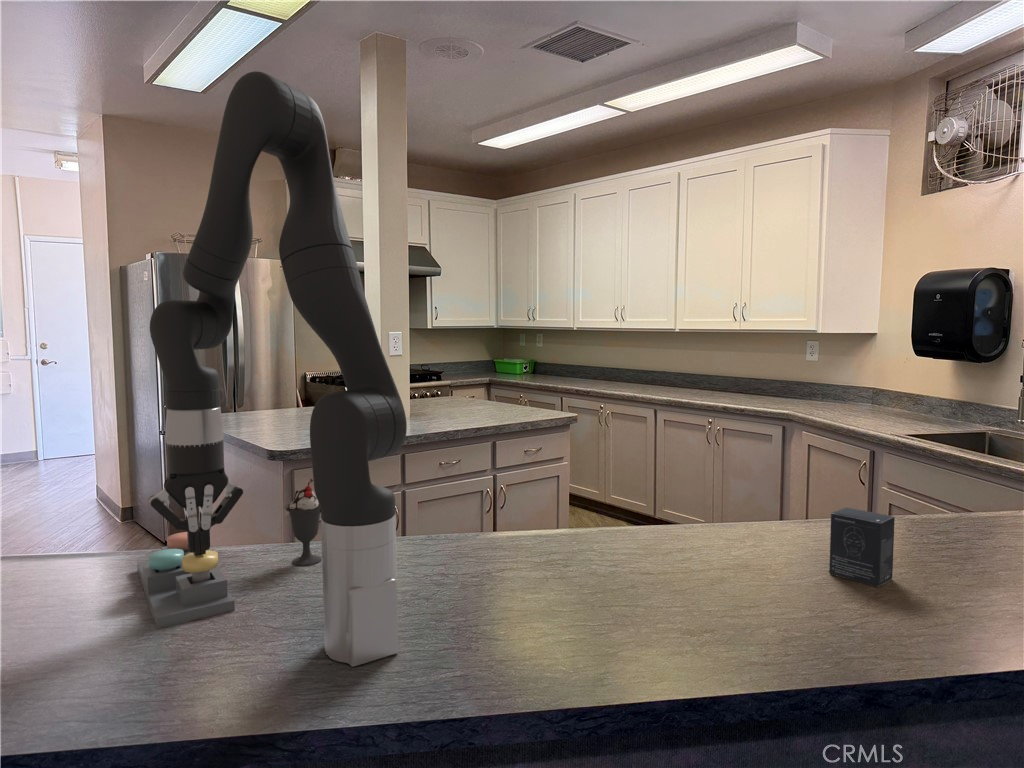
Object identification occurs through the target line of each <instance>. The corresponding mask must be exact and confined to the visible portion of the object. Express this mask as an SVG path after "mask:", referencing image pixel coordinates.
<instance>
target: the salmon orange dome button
mask: <svg viewBox="0 0 1024 768" xmlns="http://www.w3.org/2000/svg"><path fill="white" fill-rule="evenodd" d="M166 542H167V543H166V546H167V548H168V549H181V550H183V551H184V552H185V551H190V550H189V548H188V540H187V531H183V532H178V533H174V534H173V533H172V534H171V535H168V536H167V538H166Z"/></svg>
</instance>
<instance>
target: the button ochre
mask: <svg viewBox="0 0 1024 768" xmlns="http://www.w3.org/2000/svg"><path fill="white" fill-rule="evenodd" d="M218 565H219V553H218V551H215V550H210V549H209V550H206V554H204V555H199V556H194V554H193V553H189V554H187V555H185V556H183V557H182V570H183V571H185V572H191V573H192V584H195V583H200V582H205V581H210V570H211V569H215V568H218Z"/></svg>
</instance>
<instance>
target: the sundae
mask: <svg viewBox="0 0 1024 768" xmlns="http://www.w3.org/2000/svg"><path fill="white" fill-rule="evenodd" d="M312 482H314V481H313V478H310V480H309V481H308V483H307V486H305V487H304V488H303V489H300V490H296V491H295V493H294V498H293V501H292V502H290V503H286V504H285V505H284V508H285V511H287V512H289V516H290V522H291V527H292V531H293V535H294V537H295V539H297V540H298V541H299V542H300V543H302V554H301V555H300V556H297V557H295V558H293V560H292V562H291V563H292V565H294V566H297V567H307V566H313V565H316V564H319V562H322V556H320V555H314V554H312V552H311V542H312V540H314V539H315V538H316V536H317V535H318V532H319V527H320V520H321V509H320V505H319V502H318V500H317V497H316V494H315V491H313V490H312V486H310V484H312Z"/></svg>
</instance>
